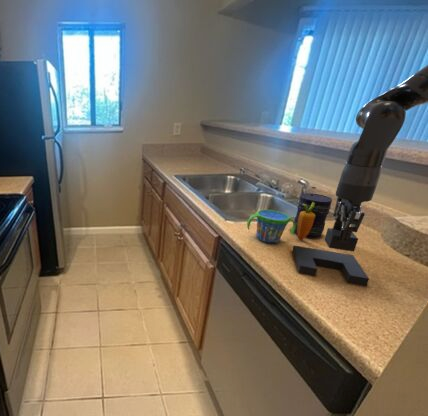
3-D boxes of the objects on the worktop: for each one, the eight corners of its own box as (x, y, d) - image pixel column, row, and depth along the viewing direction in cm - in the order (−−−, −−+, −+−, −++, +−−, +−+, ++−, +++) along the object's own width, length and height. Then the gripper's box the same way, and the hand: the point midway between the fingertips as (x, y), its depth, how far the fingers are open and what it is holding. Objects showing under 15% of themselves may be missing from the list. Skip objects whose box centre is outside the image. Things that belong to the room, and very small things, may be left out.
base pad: (350, 261, 89) (352, 255, 88) (366, 286, 77) (369, 278, 76) (292, 251, 95) (293, 245, 94) (298, 272, 84) (300, 265, 83)
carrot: (294, 242, 101) (304, 204, 96) (290, 236, 106) (300, 200, 100) (310, 244, 100) (321, 205, 95) (305, 238, 104) (316, 201, 99)
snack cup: (288, 236, 106) (295, 212, 102) (294, 249, 97) (301, 223, 93) (244, 230, 112) (248, 207, 108) (245, 241, 102) (250, 216, 99)
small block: (347, 243, 81) (351, 231, 79) (354, 251, 76) (358, 238, 75) (324, 239, 83) (327, 227, 82) (329, 247, 78) (332, 235, 77)
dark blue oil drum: (327, 239, 103) (341, 194, 96) (298, 237, 105) (310, 193, 98) (313, 228, 112) (325, 186, 106) (287, 227, 114) (297, 185, 107)
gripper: (388, 190, 65) (365, 252, 71) (366, 176, 77) (348, 230, 83) (348, 186, 68) (329, 246, 75) (333, 173, 80) (317, 225, 87)
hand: (339, 237), depth 79 cm, fingers closed on small block, 5 cm apart
